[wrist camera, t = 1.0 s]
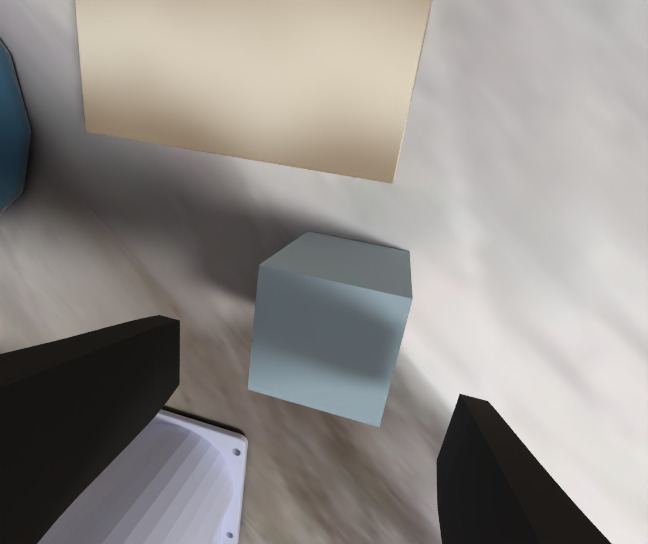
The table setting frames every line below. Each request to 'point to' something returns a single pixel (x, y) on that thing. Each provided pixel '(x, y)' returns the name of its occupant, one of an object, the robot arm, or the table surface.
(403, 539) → the table surface
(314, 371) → the block
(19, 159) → the wine bottle
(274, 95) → the plinth
